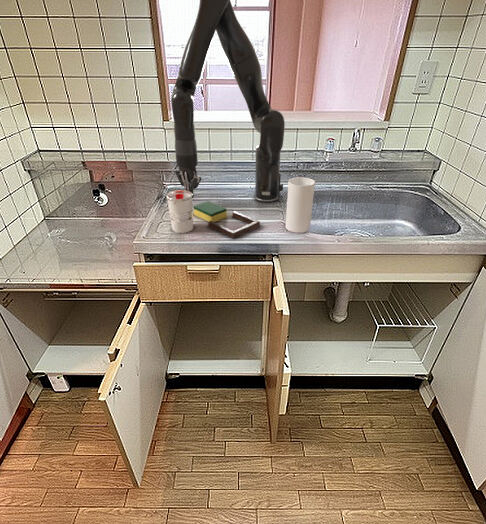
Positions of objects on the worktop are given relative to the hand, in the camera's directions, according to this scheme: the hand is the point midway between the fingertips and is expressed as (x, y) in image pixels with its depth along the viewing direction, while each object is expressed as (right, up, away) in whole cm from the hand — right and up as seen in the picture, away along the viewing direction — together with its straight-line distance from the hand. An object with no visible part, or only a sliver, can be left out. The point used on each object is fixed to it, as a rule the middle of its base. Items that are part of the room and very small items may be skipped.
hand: (189, 198), depth 133 cm
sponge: (+8, -7, -5) cm, 12 cm away
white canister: (-1, -13, -13) cm, 18 cm away
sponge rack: (+16, -12, -12) cm, 24 cm away
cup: (+38, -12, -13) cm, 42 cm away
